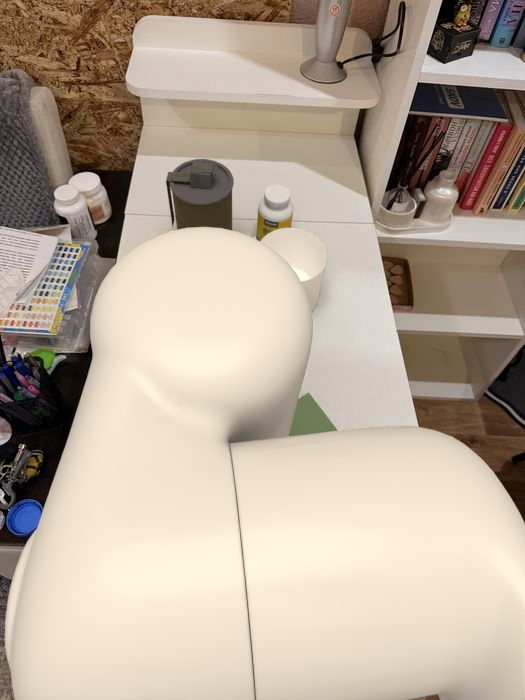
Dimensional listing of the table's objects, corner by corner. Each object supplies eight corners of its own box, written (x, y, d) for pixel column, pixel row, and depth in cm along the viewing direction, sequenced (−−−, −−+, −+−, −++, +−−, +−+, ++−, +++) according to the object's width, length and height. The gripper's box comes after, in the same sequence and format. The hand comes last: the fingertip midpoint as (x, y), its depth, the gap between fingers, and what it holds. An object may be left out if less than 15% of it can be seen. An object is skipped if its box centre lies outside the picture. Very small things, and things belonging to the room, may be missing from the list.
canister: (236, 233, 101) (236, 148, 83) (230, 274, 96) (230, 193, 78) (181, 228, 101) (170, 142, 83) (172, 269, 95) (159, 187, 78)
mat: (345, 442, 80) (346, 441, 80) (294, 476, 77) (294, 475, 77) (308, 393, 84) (308, 392, 84) (257, 424, 81) (257, 423, 81)
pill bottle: (252, 246, 99) (255, 202, 89) (260, 222, 102) (263, 177, 92) (285, 253, 99) (291, 209, 89) (292, 229, 102) (298, 184, 92)
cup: (307, 331, 90) (317, 291, 80) (245, 312, 91) (246, 270, 81) (324, 281, 96) (335, 237, 86) (265, 264, 97) (269, 219, 87)
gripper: (64, 360, 28) (122, 458, 43) (266, 634, 22) (252, 639, 37) (176, 293, 31) (194, 407, 46) (384, 520, 25) (327, 567, 40)
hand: (220, 510), depth 41 cm, fingers open, 9 cm apart
